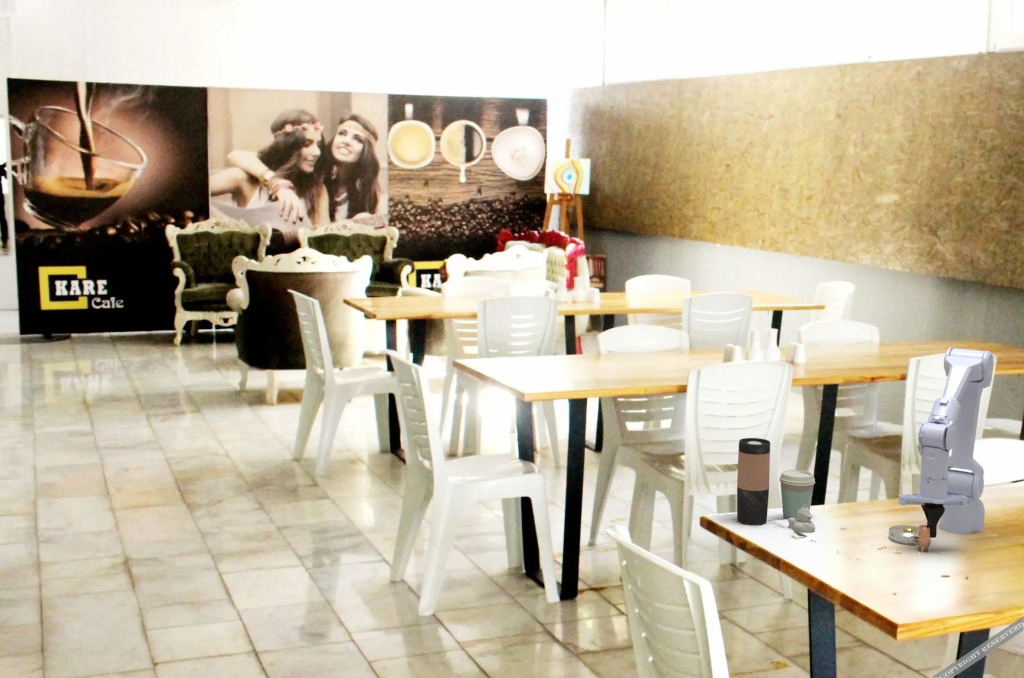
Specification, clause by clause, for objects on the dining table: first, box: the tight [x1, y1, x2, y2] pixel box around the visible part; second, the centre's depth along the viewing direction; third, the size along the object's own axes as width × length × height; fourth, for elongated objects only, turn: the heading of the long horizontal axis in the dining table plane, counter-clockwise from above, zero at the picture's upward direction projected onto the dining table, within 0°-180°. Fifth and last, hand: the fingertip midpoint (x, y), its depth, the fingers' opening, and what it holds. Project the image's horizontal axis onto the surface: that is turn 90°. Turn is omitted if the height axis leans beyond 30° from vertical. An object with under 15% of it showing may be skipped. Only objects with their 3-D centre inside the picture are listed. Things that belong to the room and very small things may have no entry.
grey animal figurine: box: [787, 504, 816, 538], centre depth 276 cm, size 5×7×8 cm
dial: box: [888, 524, 931, 553], centre depth 266 cm, size 14×9×6 cm, turn 4°
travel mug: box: [736, 437, 771, 526], centre depth 287 cm, size 8×8×20 cm
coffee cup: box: [778, 469, 816, 520], centre depth 287 cm, size 8×9×12 cm
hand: (931, 536), depth 262 cm, fingers closed, pressing on dial
